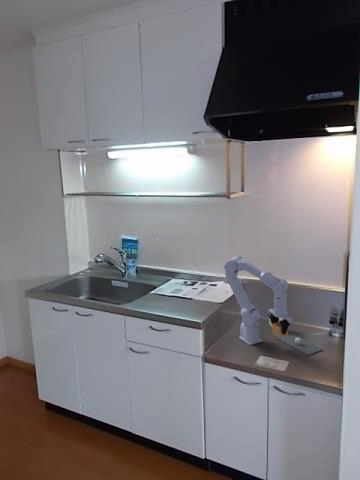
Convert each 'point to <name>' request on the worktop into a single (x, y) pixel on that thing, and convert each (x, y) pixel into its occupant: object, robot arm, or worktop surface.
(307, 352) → the plate
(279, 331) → the wooden cube with hole
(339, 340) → the worktop surface
